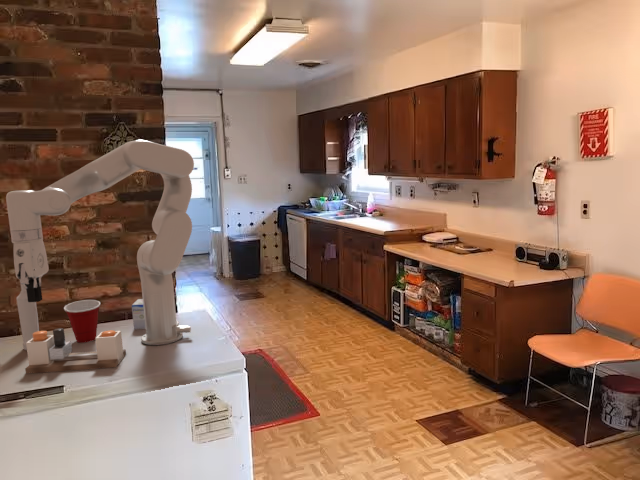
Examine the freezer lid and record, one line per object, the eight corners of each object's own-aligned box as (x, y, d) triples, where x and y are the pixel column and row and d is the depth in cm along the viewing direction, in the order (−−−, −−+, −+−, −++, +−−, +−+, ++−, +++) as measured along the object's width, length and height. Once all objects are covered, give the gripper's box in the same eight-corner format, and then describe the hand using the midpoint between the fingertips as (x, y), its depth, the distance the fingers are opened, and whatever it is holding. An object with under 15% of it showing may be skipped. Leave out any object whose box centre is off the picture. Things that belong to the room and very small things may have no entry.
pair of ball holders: (123, 357, 153) (120, 330, 152) (118, 364, 148) (115, 336, 147) (38, 363, 152) (35, 336, 150) (29, 370, 146) (26, 342, 145)
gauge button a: (117, 336, 151) (116, 329, 151) (113, 340, 148) (112, 334, 147) (104, 337, 151) (103, 330, 151) (100, 341, 147) (99, 334, 147)
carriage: (72, 351, 152) (69, 326, 151) (63, 358, 146) (60, 332, 145) (59, 351, 152) (56, 326, 151) (50, 359, 146) (47, 333, 145)
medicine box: (139, 322, 187) (137, 299, 185) (152, 321, 187) (150, 298, 186) (133, 329, 179) (131, 305, 178) (147, 328, 179) (144, 304, 178)
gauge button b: (50, 337, 150) (49, 330, 149) (44, 341, 146) (43, 334, 146) (36, 337, 150) (36, 331, 149) (31, 342, 146) (30, 335, 146)
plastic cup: (67, 348, 163) (62, 310, 161) (68, 338, 173) (64, 302, 171) (105, 342, 167) (101, 305, 166) (103, 332, 177) (100, 297, 175)
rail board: (126, 354, 155) (125, 346, 155) (115, 367, 146) (114, 358, 145) (42, 360, 154) (41, 351, 153) (25, 373, 144) (24, 364, 144)
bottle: (29, 351, 162) (18, 271, 158) (19, 349, 164) (9, 270, 161) (45, 346, 166) (35, 268, 162) (36, 343, 169) (26, 267, 165)
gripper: (28, 239, 136) (37, 307, 139) (52, 231, 151) (60, 293, 154) (-2, 240, 136) (7, 309, 139) (25, 232, 151) (33, 295, 153)
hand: (35, 301), depth 146 cm, fingers closed
